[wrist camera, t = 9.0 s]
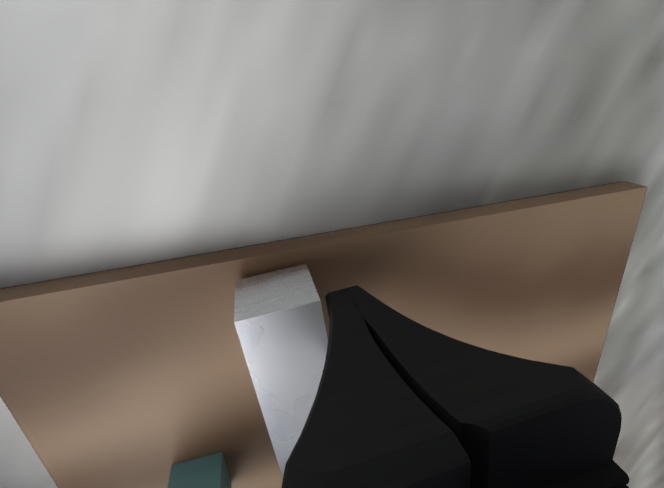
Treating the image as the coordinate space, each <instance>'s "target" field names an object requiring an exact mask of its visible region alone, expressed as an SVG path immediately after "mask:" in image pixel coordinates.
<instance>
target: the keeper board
mask: <svg viewBox="0 0 664 488" xmlns="http://www.w3.org/2000/svg"><path fill="white" fill-rule="evenodd" d="M647 188H648V187H646V186H642V185H638V184H633V183H629V182H625V181H624V182H618V183H613V184H607V185H601V186H595V187H589V188H584V189H578V190H572V191H566V192H560V193H555V194H549V195H543V196H537V197H531V198H525V199H520V200H514V201H508V202H502V203H496V204H491V205H485V206H479V207H473V208H467V209H462V210H456V211H450V212H444V213H438V214H433V215H427V216H421V217H415V218H409V219H404V220H398V221H392V222H386V223H380V224H374V225H369V226H363V227H357V228H351V229H345V230H340V231H334V232H328V233H322V234H316V235H311V236H305V237H299V238H293V239H287V240H282V241H276V242H270V243H264V244H258V245H253V246H247V247H241V248H235V249H229V250H223V251H218V252H212V253H206V254H200V255H194V256H189V257H183V258H177V259H171V260H165V261H160V262H154V263H148V264H142V265H136V266H131V267H125V268H119V269H113V270H107V271H102V272H96V273H90V274H84V275H78V276H72V277H67V278H61V279H55V280H49V281H43V282H38V283H32V284H26V285H20V286H14V287H9V288H3V289H0V396H1V398H2V399H3V401H4V403H5V404H6V406H7V407H8V409H9V411H10V412H11V414H12V415H13V417H14V418H15V420H16V422H17V423H18V425H19V426H20V428H21V430H22V431H23V433H24V434H25V436H26V438H27V439H28V441H29V442H30V444H31V445H32V447H33V449H34V450H35V452H36V453H37V455H38V457H39V458H40V460H41V461H42V463H43V464H44V466H45V468H46V469H47V471H48V472H49V474H50V476H51V477H52V479H53V480H54V482H55V484H56V485H57V487H58V488H281V487H282V481H283V477H282V474H281V471H280V468H279V464H278V461H277V458H276V455H275V452H274V448H273V445H272V442H271V439H270V436H269V432H268V429H267V426H266V423H265V420H264V416H263V413H262V410H261V407H260V404H259V401H258V397H257V394H256V391H255V388H254V385H253V381H252V378H251V375H250V372H249V369H248V365H247V362H246V359H245V356H244V353H243V349H242V346H241V343H240V340H239V337H238V333H237V330H236V327H235V324H234V303H235V280H239V279H243V278H248V277H252V276H256V275H260V274H265V273H269V272H273V271H277V270H282V269H286V268H290V267H294V266H298V265H303V264H306V265H307V267H308V270H309V272H310V275H311V277H312V280H313V283H314V285H315V288H316V290H317V293H318V295H319V298H320V300H321V306H322V311H323V317H324V322H325V328H326V333H327V339H328V337H329V315H328V309H327V304H326V299H325V296H326V295H327V293H329V292H333V291H337V290H341V289H345V288H348V287H352V286H356V285H358V286H359V287H361V288H362V289H364V290H365V291H367V292H368V293H369V294H371V295H372V296H374V297H375V298H377V299H378V300H380V301H381V302H383V303H384V304H386V305H387V306H389V307H391V308H392V309H394V310H396V311H397V312H399V313H401V314H402V315H404V316H406V317H408V318H410V319H411V320H413V321H415V322H417V323H419V324H421V325H423V326H425V327H427V328H430V329H432V330H434V331H437V332H439V333H441V334H444V335H446V336H449V337H451V338H454V339H456V340H459V341H462V342H465V343H468V344H471V345H474V346H477V347H480V348H484V349H487V350H491V351H494V352H498V353H502V354H506V355H510V356H515V357H519V358H523V359H528V360H533V361H539V362H545V363H551V364H557V365H562V366H568V367H573V368H575V369H576V370H577V371H579V372H580V373H581V374H583V375H584V376H585V377H586V378H588V379H589V380H590V381H592V382H593V381H594V378H595V374H596V371H597V367H598V363H599V360H600V356H601V353H602V349H603V346H604V342H605V338H606V335H607V331H608V328H609V324H610V320H611V317H612V313H613V310H614V306H615V302H616V299H617V295H618V292H619V288H620V284H621V281H622V277H623V274H624V270H625V267H626V263H627V259H628V256H629V252H630V249H631V245H632V241H633V238H634V234H635V231H636V227H637V223H638V220H639V216H640V213H641V209H642V205H643V202H644V198H645V195H646V191H647Z"/></svg>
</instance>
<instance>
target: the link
mask: <svg viewBox="0 0 664 488" xmlns="http://www.w3.org/2000/svg"><path fill="white" fill-rule="evenodd" d="M234 324H235V327H236V330H237V333H238V337H239V340H240V343H241V346H242V349H243V353H244V356H245V359H246V362H247V365H248V369H249V372H250V375H251V378H252V381H253V385H254V388H255V391H256V394H257V397H258V401H259V404H260V407H261V410H262V413H263V416H264V420H265V423H266V426H267V429H268V432H269V436H270V439H271V442H272V445H273V448H274V452H275V455H276V458H277V461H278V464H279V468H280V471H281V474H282V477H283V475H284V470H285V464H286V462H287V460H288V458H289V456H290V454H291V452H292V450H293V448H294V446H295V444H296V442H297V440H298V438H299V436H300V434H301V432H302V430H303V428H304V425H305V423H306V420H307V418H308V415H309V413H310V410H311V408H312V405H313V403H314V400H315V397H316V394H317V391H318V387H319V384H320V380H321V377H322V373H323V368H324V364H325V359H326V353H327V346H328V339H327V333H326V328H325V322H324V317H323V311H322V306H321V300H320V298H319V295H318V293H317V290H316V288H315V285H314V283H313V280H312V277H311V275H310V272H309V270H308V267H307V265H306V264H303V265H298V266H294V267H290V268H286V269H282V270H277V271H273V272H269V273H265V274H260V275H256V276H252V277H248V278H243V279H239V280H235V303H234Z"/></svg>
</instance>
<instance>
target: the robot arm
mask: <svg viewBox="0 0 664 488" xmlns="http://www.w3.org/2000/svg"><path fill="white" fill-rule="evenodd" d="M325 299H326V304H327V309H328V315H329V337H328V346H327V353H326V359H325V364H324V368H323V373H322V377H321V380H320V384H319V387H318V391H317V394H316V397H315V400H314V403H313V405H312V408H311V410H310V413H309V415H308V418H307V420H306V423H305V425H304V428H303V430H302V432H301V434H300V436H299V438H298V440H297V442H296V444H295V446H294V448H293V450H292V452H291V454H290V456H289V458H288V460H287V462H286V464H285V470H284V475H283V481H282V487H281V488H629V487H628V486H627V485H626V484H628V483H629V477H628V475H627V474H626V473H625V472H624V471H623V470H622V469H621V468H620V467H619V466H618V465H617V464H616V463H615V462H614V461H613V460H612V459H613V455H614V452H615V448H616V444H617V441H618V437H619V433H620V428H621V413H620V409H619V406H618V404H617V403H616V402H615V401H614V400H613V399H612V398H611V397H610V396H608V395H607V394H606V393H605V392H604V391H602V390H601V389H600V388H599V387H598V386H596V385H595V384H594V383H593V382H592V381H590V380H589V379H588V378H586V377H585V376H584V375H583V374H581V373H580V372H579V371H577V370H576V369H575V368H573V367H568V366H562V365H557V364H551V363H545V362H539V361H533V360H528V359H523V358H519V357H515V356H510V355H506V354H502V353H498V352H494V351H491V350H487V349H484V348H480V347H477V346H474V345H471V344H468V343H465V342H462V341H459V340H456V339H454V338H451V337H449V336H446V335H444V334H441V333H439V332H437V331H434V330H432V329H430V328H427V327H425V326H423V325H421V324H419V323H417V322H415V321H413V320H411V319H410V318H408V317H406V316H404V315H402V314H401V313H399V312H397V311H396V310H394V309H392V308H391V307H389V306H387V305H386V304H384V303H383V302H381V301H380V300H378V299H377V298H375V297H374V296H372V295H371V294H369V293H368V292H367V291H365V290H364V289H362V288H361V287H359V286H358V285H356V286H352V287H348V288H345V289H341V290H337V291H333V292H329V293H327V295H326V296H325Z"/></svg>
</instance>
